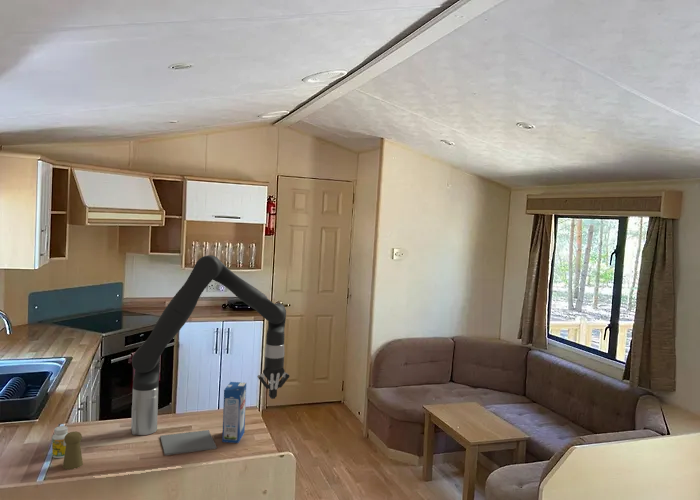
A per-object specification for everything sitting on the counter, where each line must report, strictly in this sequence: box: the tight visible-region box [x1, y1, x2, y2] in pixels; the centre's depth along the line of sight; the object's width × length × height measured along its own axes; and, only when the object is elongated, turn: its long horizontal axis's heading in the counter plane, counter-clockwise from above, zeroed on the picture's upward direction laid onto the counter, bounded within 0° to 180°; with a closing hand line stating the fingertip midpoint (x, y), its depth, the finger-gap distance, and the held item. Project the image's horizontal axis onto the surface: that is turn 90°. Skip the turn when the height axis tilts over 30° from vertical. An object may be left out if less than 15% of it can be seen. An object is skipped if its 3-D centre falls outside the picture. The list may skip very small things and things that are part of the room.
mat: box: [159, 429, 218, 456], centre depth 205 cm, size 18×16×1 cm
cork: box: [62, 431, 84, 470], centre depth 183 cm, size 6×6×11 cm
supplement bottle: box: [51, 425, 69, 459], centre depth 189 cm, size 5×5×10 cm
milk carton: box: [221, 381, 247, 444], centre depth 211 cm, size 10×6×20 cm, turn 178°
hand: (272, 398), depth 217 cm, fingers closed
